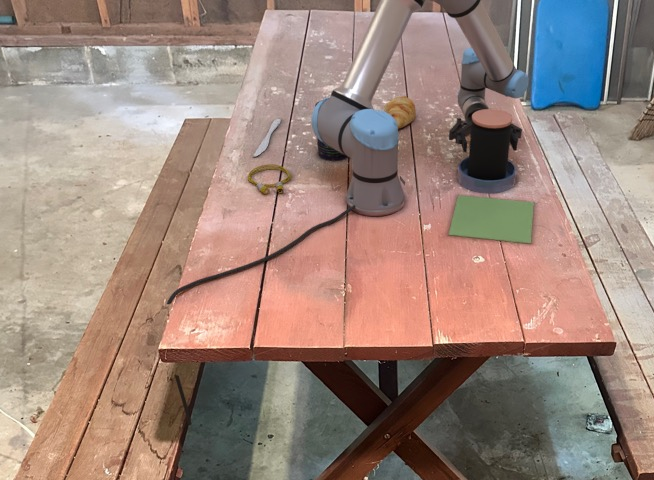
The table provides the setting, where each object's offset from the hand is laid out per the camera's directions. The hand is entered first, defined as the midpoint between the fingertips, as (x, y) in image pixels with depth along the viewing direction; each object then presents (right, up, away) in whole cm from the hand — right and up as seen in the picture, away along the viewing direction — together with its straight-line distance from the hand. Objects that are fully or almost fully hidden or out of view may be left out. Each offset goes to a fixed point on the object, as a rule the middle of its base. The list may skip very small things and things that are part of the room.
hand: (490, 146), depth 187 cm
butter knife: (-64, +9, +28) cm, 71 cm away
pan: (0, -7, +8) cm, 10 cm away
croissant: (-24, +18, +40) cm, 50 cm away
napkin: (-1, -20, -9) cm, 22 cm away
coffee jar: (0, -7, +8) cm, 10 cm away
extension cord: (-61, -8, +7) cm, 62 cm away
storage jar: (-43, +2, +20) cm, 48 cm away
